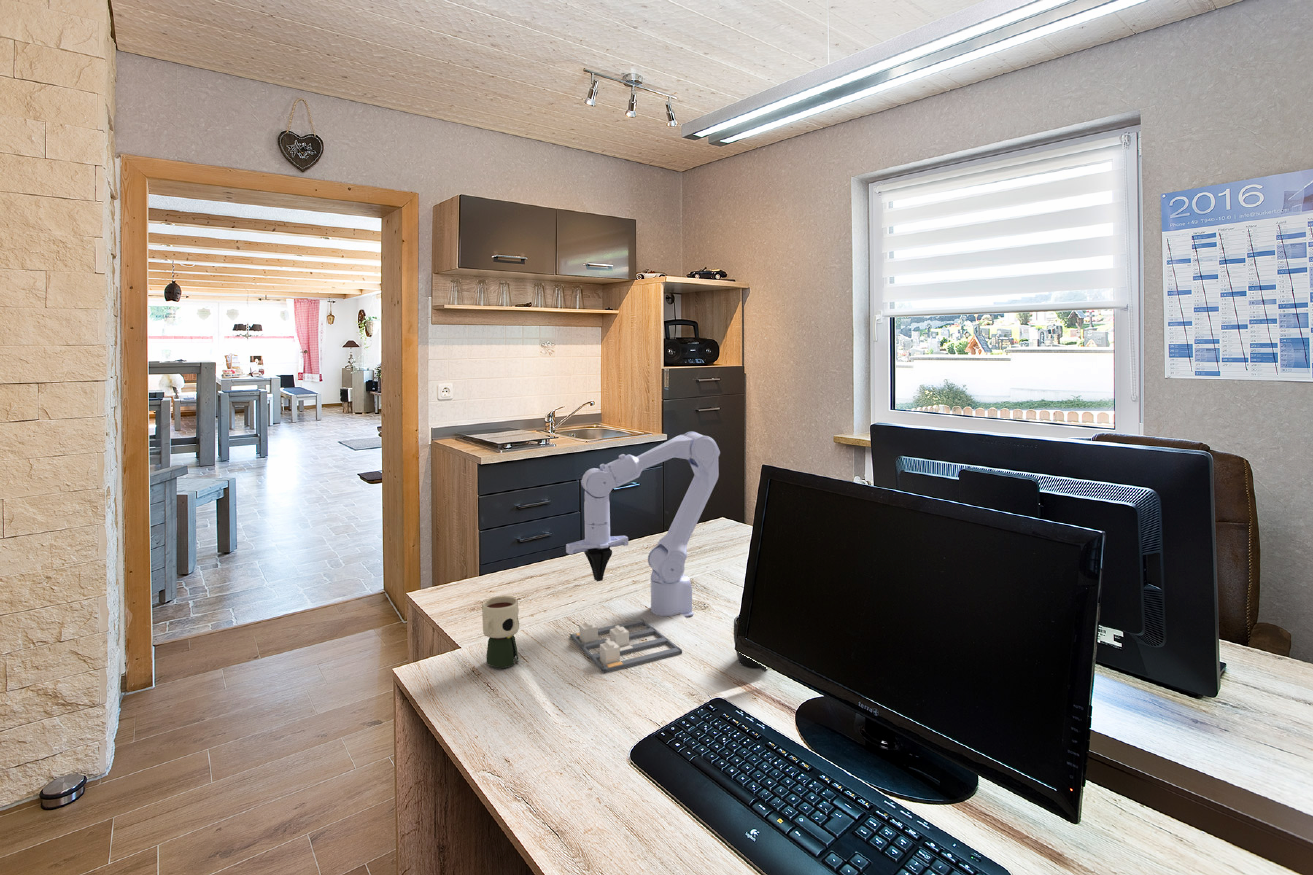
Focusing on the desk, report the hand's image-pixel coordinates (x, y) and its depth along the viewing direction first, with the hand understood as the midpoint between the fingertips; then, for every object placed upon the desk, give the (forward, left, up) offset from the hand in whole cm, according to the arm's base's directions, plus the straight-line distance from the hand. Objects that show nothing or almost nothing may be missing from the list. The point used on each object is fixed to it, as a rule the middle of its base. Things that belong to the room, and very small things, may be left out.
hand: (598, 579), depth 154 cm
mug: (-20, +33, -11) cm, 40 cm away
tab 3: (+2, +16, -9) cm, 18 cm away
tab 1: (+7, +10, -9) cm, 15 cm away
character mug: (+25, +9, -11) cm, 29 cm away
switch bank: (+1, +16, -10) cm, 19 cm away
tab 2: (+7, +21, -9) cm, 24 cm away
